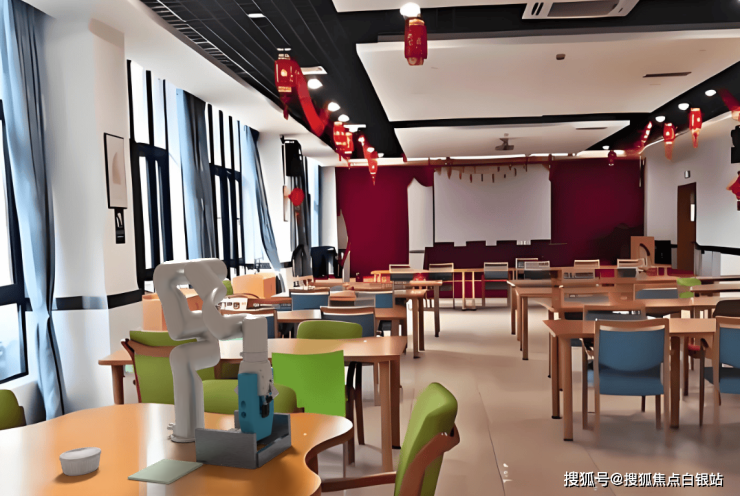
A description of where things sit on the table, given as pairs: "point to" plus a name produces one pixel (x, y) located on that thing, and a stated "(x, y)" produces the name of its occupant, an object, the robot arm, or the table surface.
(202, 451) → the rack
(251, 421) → the block
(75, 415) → the table surface
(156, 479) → the mat
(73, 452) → the ramekin
